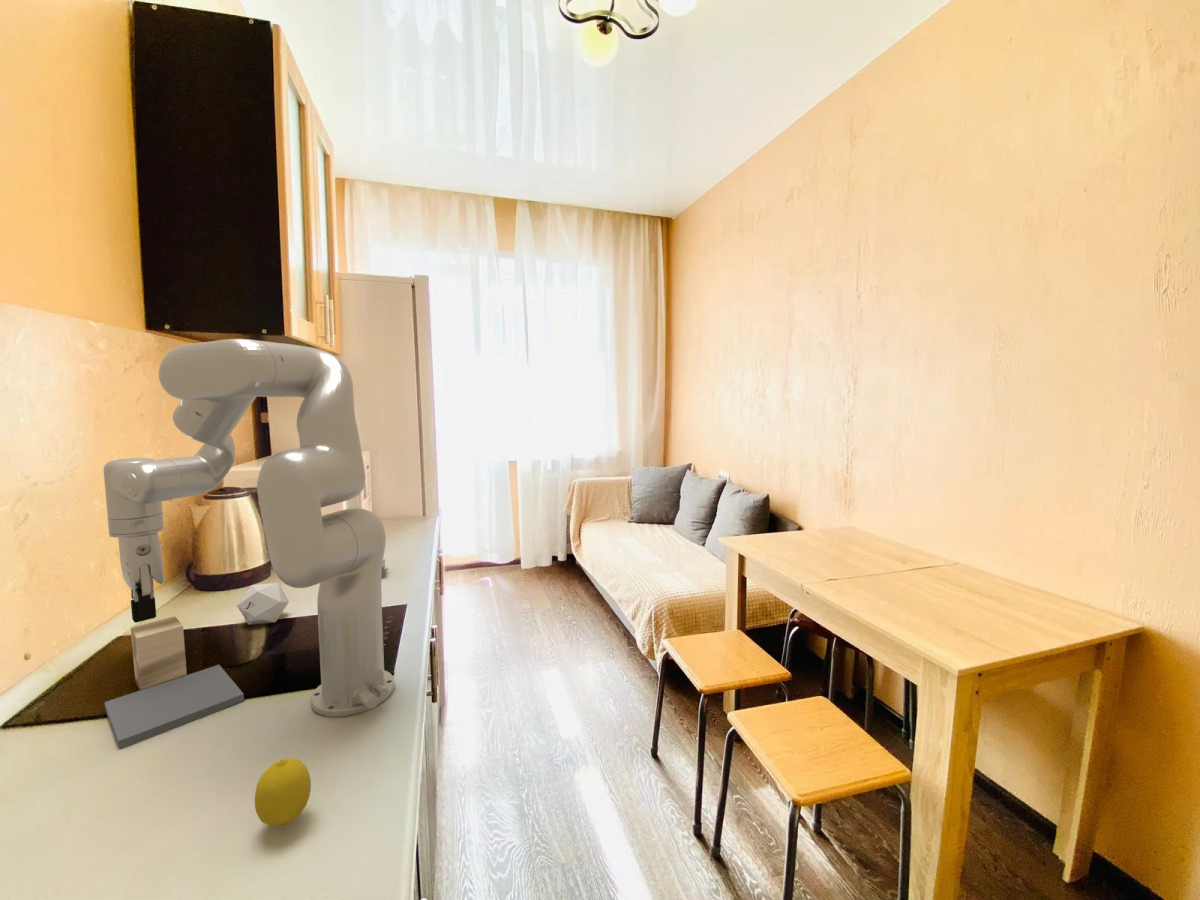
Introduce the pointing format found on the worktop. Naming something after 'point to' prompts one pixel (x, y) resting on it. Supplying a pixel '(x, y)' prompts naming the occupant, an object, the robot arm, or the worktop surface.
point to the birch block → (158, 652)
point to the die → (263, 603)
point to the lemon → (282, 792)
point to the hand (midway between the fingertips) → (144, 618)
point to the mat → (171, 704)
